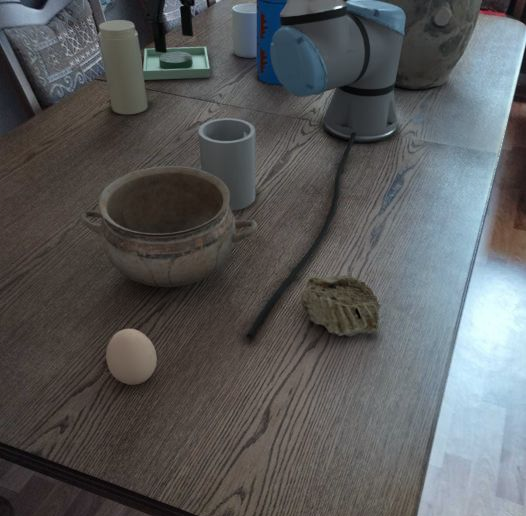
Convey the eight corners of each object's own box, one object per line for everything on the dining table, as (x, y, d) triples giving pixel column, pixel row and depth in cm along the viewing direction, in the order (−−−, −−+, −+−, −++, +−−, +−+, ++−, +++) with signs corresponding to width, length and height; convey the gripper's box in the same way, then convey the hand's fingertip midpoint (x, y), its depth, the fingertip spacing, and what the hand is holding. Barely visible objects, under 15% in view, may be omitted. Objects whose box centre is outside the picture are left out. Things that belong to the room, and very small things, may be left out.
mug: (266, 44, 154) (267, 0, 146) (264, 59, 146) (264, 13, 138) (236, 43, 154) (235, -1, 147) (231, 58, 146) (230, 12, 138)
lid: (170, 57, 145) (169, 49, 143) (198, 61, 142) (197, 54, 141) (153, 67, 139) (152, 59, 138) (183, 72, 137) (182, 64, 136)
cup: (195, 204, 95) (189, 137, 87) (216, 180, 101) (212, 114, 93) (243, 214, 93) (242, 147, 85) (262, 189, 99) (262, 123, 90)
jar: (147, 113, 121) (135, 30, 109) (110, 115, 121) (94, 31, 109) (148, 99, 127) (136, 18, 115) (112, 100, 126) (98, 19, 114)
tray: (210, 77, 136) (209, 68, 135) (144, 80, 135) (143, 71, 133) (206, 55, 148) (206, 46, 146) (145, 57, 146) (144, 48, 145)
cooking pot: (72, 305, 77) (48, 231, 68) (111, 229, 90) (95, 159, 81) (250, 318, 75) (249, 244, 66) (263, 239, 88) (264, 168, 80)
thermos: (300, 69, 141) (307, -50, 123) (298, 85, 133) (305, -39, 115) (258, 67, 141) (259, -51, 123) (254, 83, 134) (253, -41, 116)
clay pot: (381, 58, 147) (402, -83, 125) (468, 72, 140) (506, -75, 119) (354, 87, 133) (373, -67, 111) (449, 104, 126) (489, -56, 104)
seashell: (367, 360, 74) (390, 296, 77) (374, 343, 67) (398, 273, 70) (289, 333, 76) (314, 272, 79) (288, 313, 69) (315, 247, 72)
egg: (131, 354, 70) (121, 310, 65) (169, 370, 68) (161, 326, 63) (102, 385, 67) (89, 340, 61) (141, 402, 65) (130, 358, 59)
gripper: (149, -50, 113) (162, 61, 128) (204, -70, 129) (210, 31, 144) (118, -53, 115) (135, 57, 130) (176, -72, 131) (185, 27, 146)
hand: (174, 43), depth 137 cm, fingers open, 13 cm apart
